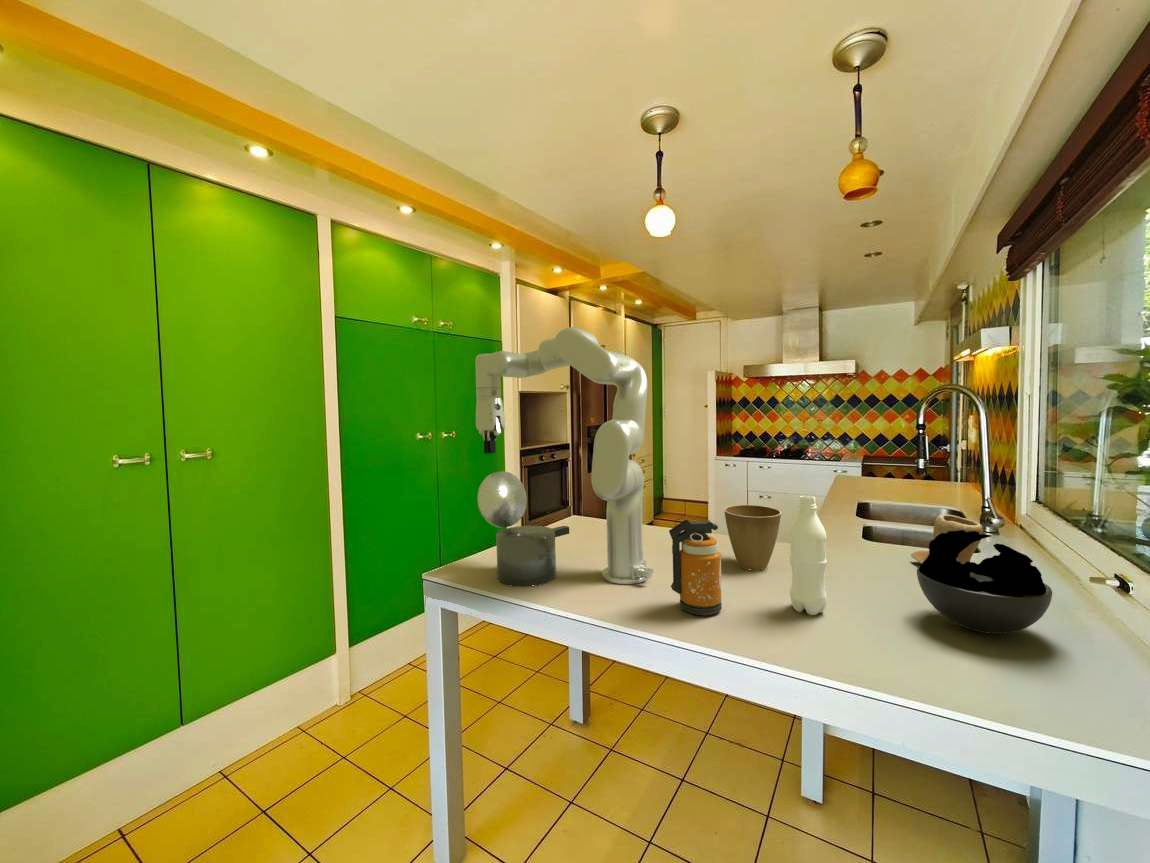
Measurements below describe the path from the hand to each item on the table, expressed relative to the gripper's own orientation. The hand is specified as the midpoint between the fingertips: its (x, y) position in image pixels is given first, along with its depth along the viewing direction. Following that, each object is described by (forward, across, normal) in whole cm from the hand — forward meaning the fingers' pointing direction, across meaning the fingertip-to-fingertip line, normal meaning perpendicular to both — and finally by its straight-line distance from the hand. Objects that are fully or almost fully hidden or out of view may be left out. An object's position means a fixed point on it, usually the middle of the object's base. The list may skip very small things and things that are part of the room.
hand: (490, 453), depth 147 cm
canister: (+32, -68, -9) cm, 76 cm away
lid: (+12, -13, +4) cm, 18 cm away
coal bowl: (+31, -113, -39) cm, 123 cm away
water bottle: (+31, -86, -25) cm, 95 cm away
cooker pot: (+32, -22, 0) cm, 39 cm away
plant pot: (+32, -64, -44) cm, 84 cm away
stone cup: (+31, -103, -74) cm, 131 cm away
